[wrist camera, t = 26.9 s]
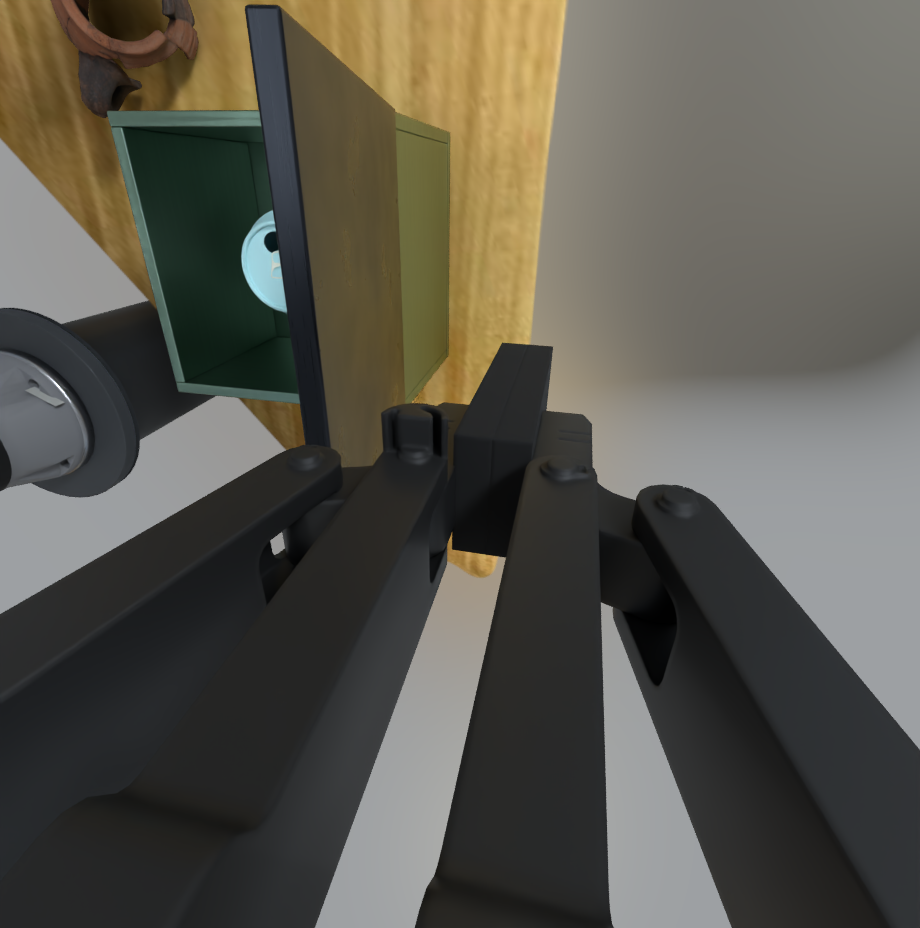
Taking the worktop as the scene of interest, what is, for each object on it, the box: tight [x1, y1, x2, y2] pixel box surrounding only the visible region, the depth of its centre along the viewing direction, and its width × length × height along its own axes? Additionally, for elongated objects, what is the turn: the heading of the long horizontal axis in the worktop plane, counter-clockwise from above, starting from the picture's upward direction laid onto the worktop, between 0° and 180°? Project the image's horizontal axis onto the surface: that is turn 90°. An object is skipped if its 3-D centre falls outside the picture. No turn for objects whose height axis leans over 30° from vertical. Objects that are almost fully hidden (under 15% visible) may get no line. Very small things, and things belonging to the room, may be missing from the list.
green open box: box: [107, 110, 450, 404], centre depth 40 cm, size 18×18×14 cm
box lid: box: [245, 5, 405, 467], centre depth 23 cm, size 18×18×1 cm
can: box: [241, 210, 287, 314], centre depth 40 cm, size 7×7×12 cm
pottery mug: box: [51, 0, 198, 118], centre depth 39 cm, size 12×10×8 cm
